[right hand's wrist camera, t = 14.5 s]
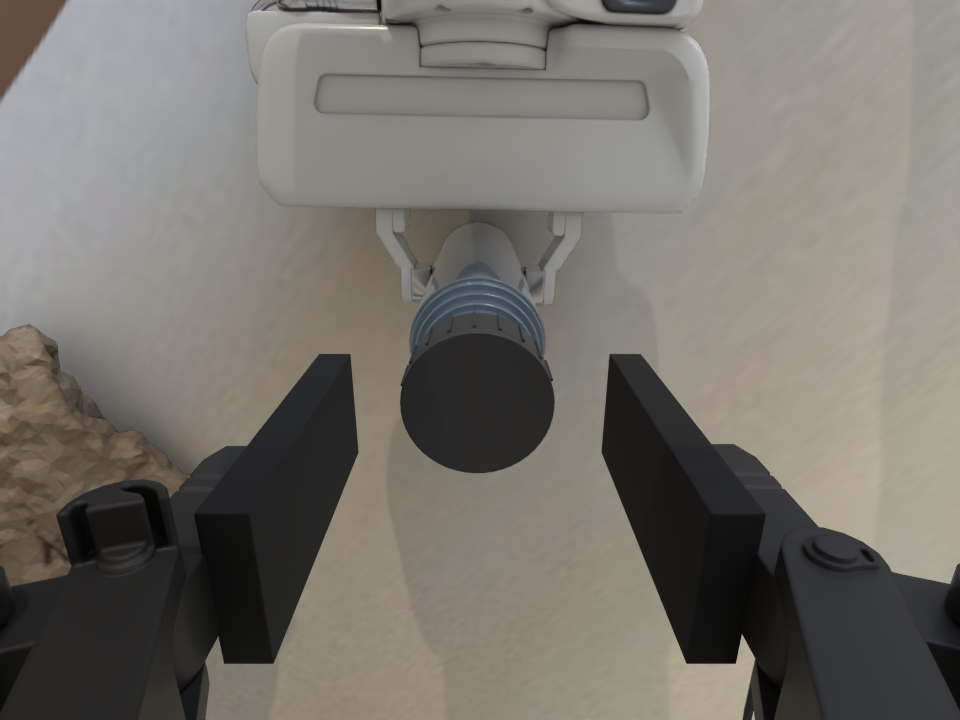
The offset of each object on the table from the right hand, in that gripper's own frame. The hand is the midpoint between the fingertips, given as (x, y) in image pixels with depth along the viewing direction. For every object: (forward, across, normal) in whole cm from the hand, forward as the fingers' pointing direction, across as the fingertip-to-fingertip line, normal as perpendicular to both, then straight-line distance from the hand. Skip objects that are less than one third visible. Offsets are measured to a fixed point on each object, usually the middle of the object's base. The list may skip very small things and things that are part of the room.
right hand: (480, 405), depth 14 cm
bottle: (+22, 0, 0) cm, 22 cm away
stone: (+22, -26, -16) cm, 38 cm away
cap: (+1, 0, 0) cm, 1 cm away
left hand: (+15, 0, -1) cm, 15 cm away
